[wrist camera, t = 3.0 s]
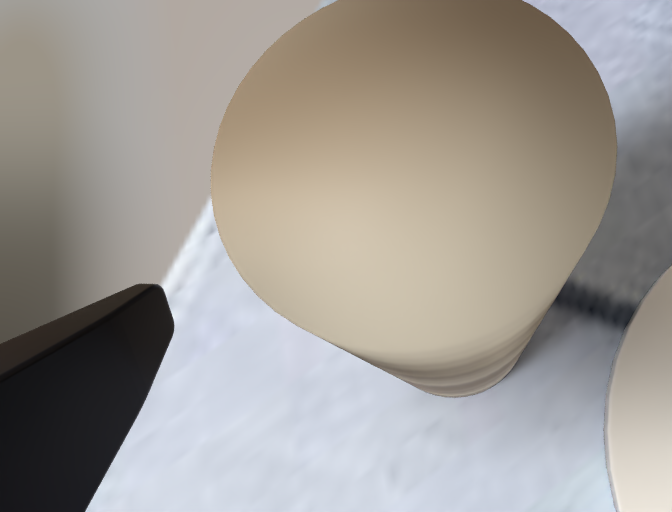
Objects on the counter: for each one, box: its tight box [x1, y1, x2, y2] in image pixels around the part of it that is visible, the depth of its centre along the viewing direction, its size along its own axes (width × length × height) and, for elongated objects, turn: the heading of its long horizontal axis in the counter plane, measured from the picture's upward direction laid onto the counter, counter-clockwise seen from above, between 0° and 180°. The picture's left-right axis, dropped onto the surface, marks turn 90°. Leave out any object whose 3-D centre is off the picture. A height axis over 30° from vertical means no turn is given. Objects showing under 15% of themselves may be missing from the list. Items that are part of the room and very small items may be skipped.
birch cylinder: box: [211, 0, 617, 398], centre depth 12 cm, size 4×4×12 cm
